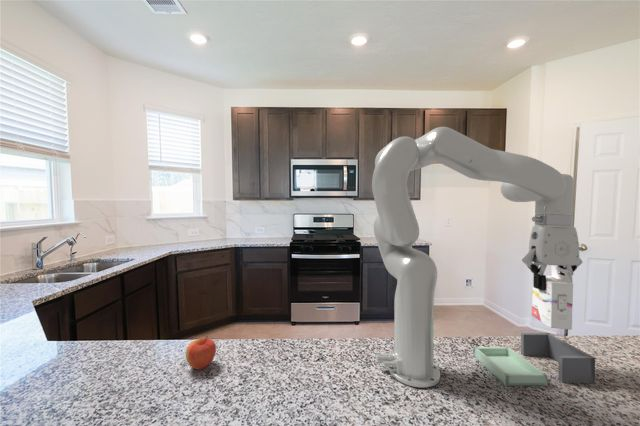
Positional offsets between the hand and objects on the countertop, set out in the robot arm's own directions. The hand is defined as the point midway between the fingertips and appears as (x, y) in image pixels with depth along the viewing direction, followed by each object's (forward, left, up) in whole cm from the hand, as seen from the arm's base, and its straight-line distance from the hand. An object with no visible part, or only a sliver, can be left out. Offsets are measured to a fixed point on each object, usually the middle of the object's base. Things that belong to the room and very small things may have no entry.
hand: (551, 288), depth 70 cm
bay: (0, 0, -21) cm, 21 cm away
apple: (-94, +1, -21) cm, 96 cm away
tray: (-13, -1, -21) cm, 24 cm away
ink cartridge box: (0, 0, -9) cm, 9 cm away
